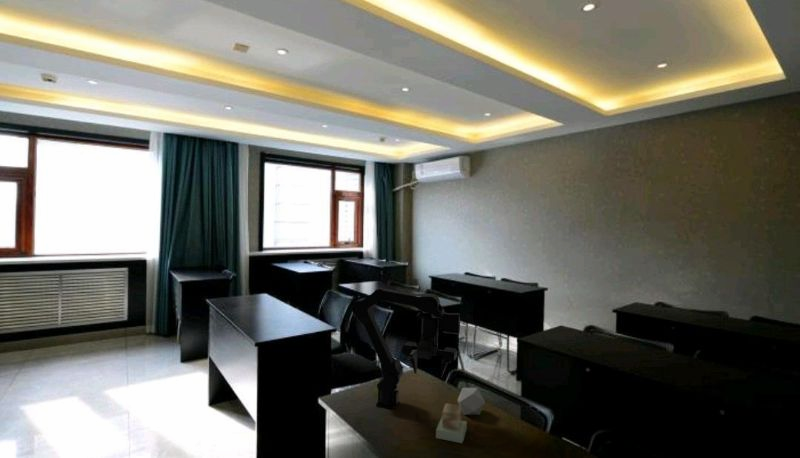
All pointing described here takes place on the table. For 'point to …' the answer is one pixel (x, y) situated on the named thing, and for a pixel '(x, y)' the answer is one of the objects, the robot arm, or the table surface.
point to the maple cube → (451, 416)
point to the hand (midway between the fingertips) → (428, 375)
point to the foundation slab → (451, 432)
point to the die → (471, 401)
